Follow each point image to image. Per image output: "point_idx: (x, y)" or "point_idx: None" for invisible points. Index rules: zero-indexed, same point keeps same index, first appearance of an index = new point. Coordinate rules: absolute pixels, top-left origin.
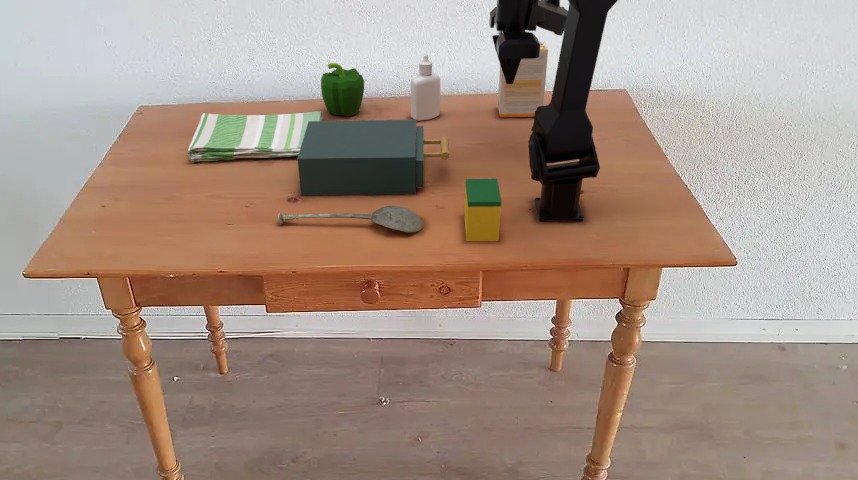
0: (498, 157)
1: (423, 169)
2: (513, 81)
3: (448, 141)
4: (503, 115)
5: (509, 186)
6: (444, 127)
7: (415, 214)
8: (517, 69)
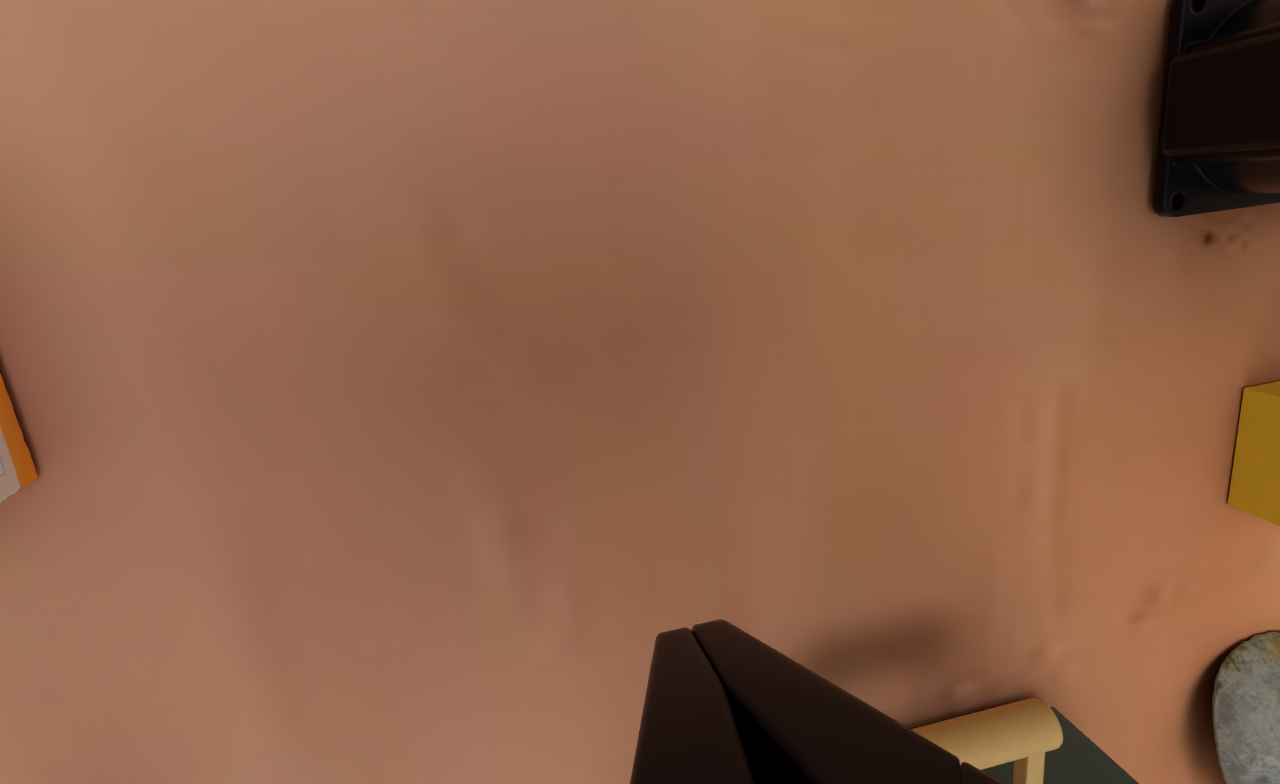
0: (685, 424)
1: (1127, 774)
2: (738, 631)
3: None
4: (21, 459)
5: (1001, 343)
6: (304, 769)
7: (1267, 683)
8: (904, 730)
